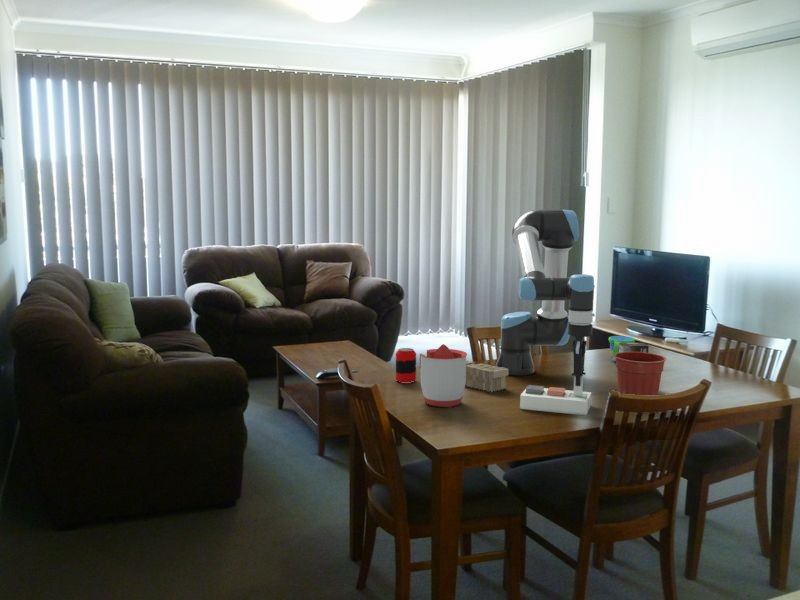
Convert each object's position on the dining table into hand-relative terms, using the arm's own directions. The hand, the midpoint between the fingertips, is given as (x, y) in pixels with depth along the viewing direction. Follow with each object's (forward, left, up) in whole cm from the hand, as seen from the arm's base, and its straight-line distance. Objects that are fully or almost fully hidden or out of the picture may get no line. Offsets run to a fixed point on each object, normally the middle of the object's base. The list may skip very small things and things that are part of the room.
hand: (577, 394), depth 242 cm
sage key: (0, 0, -3) cm, 3 cm away
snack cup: (+8, +79, -5) cm, 79 cm away
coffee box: (+15, +36, -5) cm, 39 cm away
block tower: (-41, +21, -5) cm, 47 cm away
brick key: (-7, 0, -2) cm, 7 cm away
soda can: (-65, +16, -5) cm, 67 cm away
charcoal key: (-14, 0, -2) cm, 14 cm away
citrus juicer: (-44, -8, -5) cm, 45 cm away
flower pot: (+18, +14, -5) cm, 23 cm away
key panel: (-7, 0, -5) cm, 8 cm away
